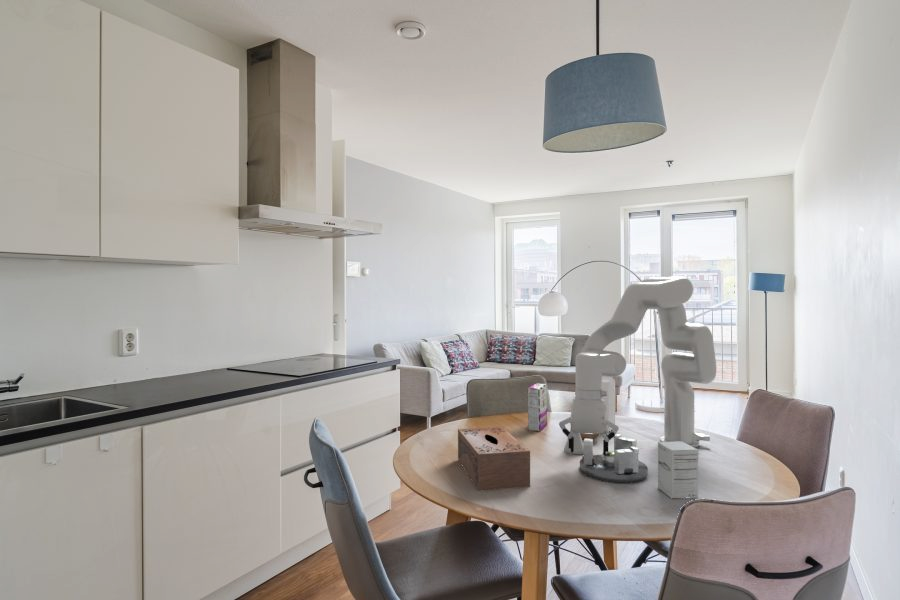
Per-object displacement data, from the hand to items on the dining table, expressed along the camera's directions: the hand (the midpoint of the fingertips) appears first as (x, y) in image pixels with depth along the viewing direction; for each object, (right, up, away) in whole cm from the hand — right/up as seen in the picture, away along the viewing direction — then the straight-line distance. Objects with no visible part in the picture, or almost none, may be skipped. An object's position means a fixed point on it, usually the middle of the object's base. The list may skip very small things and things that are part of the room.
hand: (588, 452), depth 151 cm
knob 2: (+8, -3, -9) cm, 12 cm away
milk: (+19, -5, +45) cm, 49 cm away
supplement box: (+18, -5, -18) cm, 26 cm away
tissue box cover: (-29, -6, -2) cm, 30 cm away
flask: (0, -5, +17) cm, 18 cm away
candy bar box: (-7, -5, +48) cm, 48 cm away
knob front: (0, -3, 0) cm, 3 cm away
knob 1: (+12, -3, +3) cm, 13 cm away
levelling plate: (+7, -5, -2) cm, 9 cm away
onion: (+8, -5, +30) cm, 32 cm away
